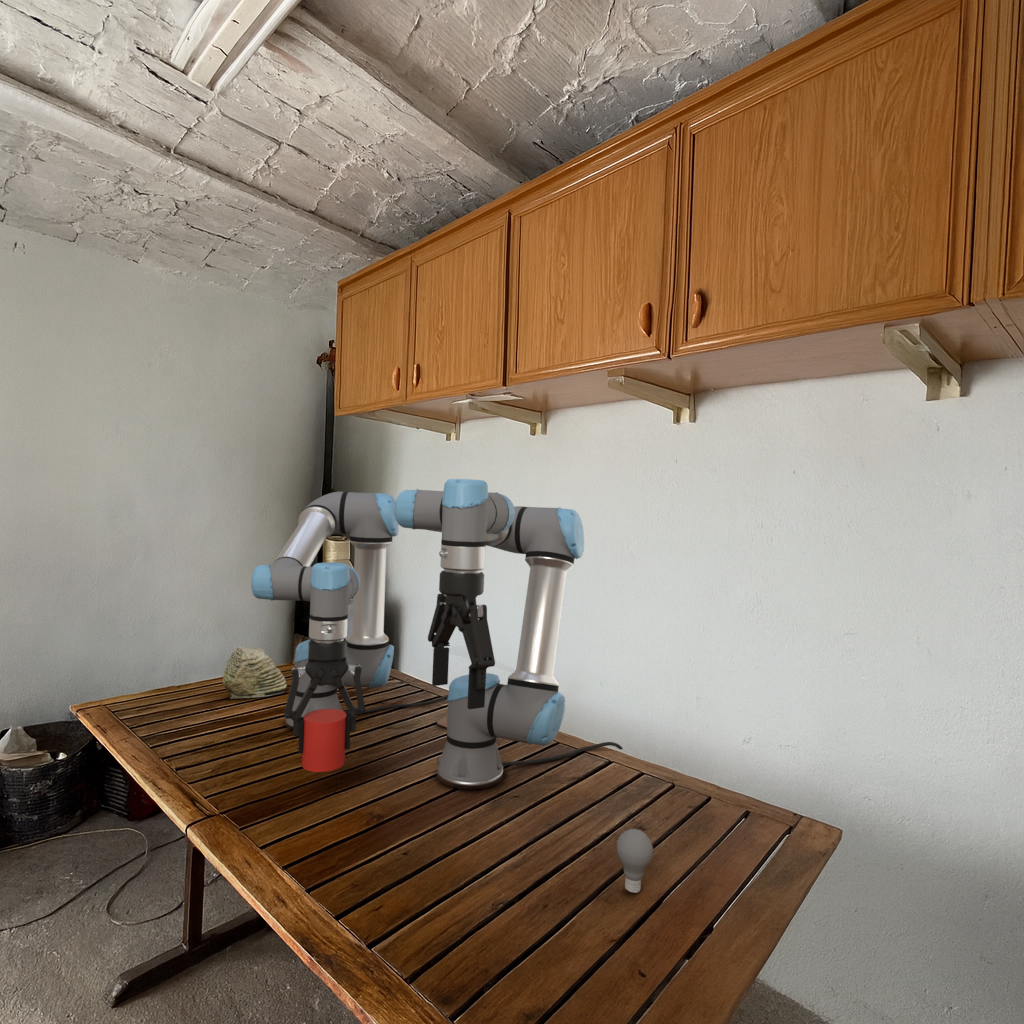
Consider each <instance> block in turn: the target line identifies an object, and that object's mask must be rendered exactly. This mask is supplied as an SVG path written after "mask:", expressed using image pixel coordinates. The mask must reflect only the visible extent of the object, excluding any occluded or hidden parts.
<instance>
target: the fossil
mask: <svg viewBox="0 0 1024 1024" xmlns="http://www.w3.org/2000/svg"><path fill="white" fill-rule="evenodd" d="M222 676H223V677H222V685H223V687H224V688H225V690H226V691H228V693H229V698H230V699H250V698H264V697H271V696H275V695H281V694H284V693H285V691H286V689H287V687H288V686H287V680H286V678H285V676H284V674H283V673H282V672H281V669H279V668H278V667H277V665H276V663H275V662H274V660H273V659H272V658H271V657H270V656H269V655H268V654H267V653H266V652H265V650H264V649H263V648H260V647H258V648H251V647H247V646H246V647H245V646H238V647H237V648H236V649H235V650H233V651H232V653H231V656H230V657H229V659H228V660H227V663H226V666H225V668H224V671H223V675H222Z"/></svg>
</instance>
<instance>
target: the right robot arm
mask: <svg viewBox="0 0 1024 1024" xmlns="http://www.w3.org/2000/svg"><path fill="white" fill-rule="evenodd" d="M394 512H395V518H396V521H397V522H398V526H400V527H401V528H405V529H411V530H422V531H423V530H426V531H431V532H436V533H437V532H438V533H441V541H440V543H441V544H440V550H439V552H438V555H439V557H440V568H441V569H443V570H441V571H440V572H439V583H438V591H439V593H438V594H437V597H436V605H435V610H434V613H433V617H432V621H431V624H430V628H429V631H428V635H427V641H428V642H429V643H431V646H432V648H433V652H432V653H433V654H432V655H433V656H432V676H431V680H432V681H431V685H432V686H433V687H436V686H437V687H438V686H445V685H446V686H447V685H448V684H449V686H448V694H447V695H448V698H446V700H447V710H446V711H447V713H446V714H447V715H446V716H447V727H446V742H445V745H444V747H443V750H442V753H441V756H440V755H438V756H437V760H436V766H437V768H436V778H437V780H438V781H439V782H440V783H441V784H442V785H445V786H447V787H449V788H452V789H456V790H463V791H478V790H479V791H480V790H486V789H489V788H492V787H494V786H496V785H498V784H499V783H501V782H502V780H503V778H504V767H507V766H508V767H509V766H522V765H523V766H527V765H535V764H542V763H547V762H552V761H557V760H561V759H565V758H568V757H572V756H574V755H576V754H580V753H582V752H585V751H591V750H595V749H599V748H603V747H609V746H611V747H615V748H616V749H618V750H624V749H623V747H622V746H621V744H619V743H618V742H613V741H605V742H601V743H597V744H593V745H592V744H591V745H588V746H583V747H580V748H577V749H574V750H572V751H569V752H566V753H562V754H558V755H554V756H548V757H543V758H536V759H530V760H529V759H528V760H514V761H513V760H511V761H502V759H501V756H500V752H499V748H498V743H497V741H498V740H497V739H498V738H499V739H504V740H508V741H513V742H519V743H524V744H527V745H529V746H530V745H535V746H542V747H545V746H548V745H550V744H551V743H552V742H554V740H555V739H556V738H557V736H558V733H559V731H560V728H561V725H562V723H563V719H564V716H565V715H564V714H565V709H566V704H565V703H566V698H565V695H564V694H563V693H562V692H560V691H559V687H560V684H559V682H558V681H557V679H556V677H555V676H554V672H555V663H556V656H557V648H558V641H559V632H560V623H561V616H562V610H563V609H562V607H563V603H564V602H563V601H564V593H565V585H566V577H567V573H568V572H569V571H570V570H571V569H573V568H574V565H575V560H578V559H581V558H582V557H583V554H584V550H585V532H584V526H583V521H582V518H581V516H580V514H579V512H577V511H576V510H575V509H570V508H562V507H541V506H540V507H539V506H524V505H523V506H521V505H519V506H514V504H513V502H512V500H511V499H510V498H509V497H508V496H507V495H505V494H502V493H500V492H497V491H496V492H493V491H492V492H489V485H488V483H487V481H485V480H482V479H471V478H470V479H468V478H449V479H447V480H446V481H445V482H444V485H443V490H430V489H429V490H428V489H419V488H416V489H405V490H402V491H401V492H400V493H399V494H398V495H397V496H396V499H395V509H394ZM487 547H491V548H494V549H498V550H501V551H505V552H508V553H511V554H519V555H525V557H524V561H525V563H526V564H527V565H528V567H529V574H528V581H527V588H526V589H527V590H526V596H525V602H524V603H525V604H524V611H523V617H522V625H521V631H520V639H519V646H518V652H517V653H518V654H517V659H516V668H515V671H513V673H510V675H509V676H508V677H507V684H503V683H501V679H500V677H499V675H497V674H495V673H489V672H487V669H488V668H492V667H495V665H496V660H495V654H494V648H493V643H492V638H491V634H490V633H491V631H490V628H489V623H488V607H487V605H486V604H477V597H478V596H482V595H483V594H484V590H485V574H484V573H483V572H482V571H483V570H485V568H486V548H487ZM456 628H457V629H458V631H459V632H461V633H462V636H463V640H464V643H465V646H466V650H467V653H468V656H469V660H470V663H471V664H470V665H469V666H468V667H467V668H468V674H463V675H461V676H458V677H456V678H454V679H453V680H452V681H451V682H450V683H449V682H448V681H449V662H450V660H449V659H450V647H451V645H450V640H451V637H452V636H453V634H454V631H455V629H456ZM439 756H440V758H439Z"/></svg>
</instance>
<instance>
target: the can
mask: <svg viewBox="0 0 1024 1024" xmlns="http://www.w3.org/2000/svg"><path fill="white" fill-rule="evenodd" d="M344 711H345V710H342V711H341V710H337V709H320V710H315V711H311V712H309V713H307V714H305V715H304V724H303V751H302V754H301V767H302V768H303V769H304V770H305V771H309V772H313V773H327V772H332V771H336V770H338V769H340V768H341V767H343V766H344V765H345V763H346V749H345V743H346V717H347V715H346V713H345V712H344Z"/></svg>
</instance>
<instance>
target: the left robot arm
mask: <svg viewBox="0 0 1024 1024" xmlns="http://www.w3.org/2000/svg"><path fill="white" fill-rule="evenodd" d="M395 502H396V499H395V498H394V496H393V495H391V494H388V493H381V492H355V491H354V492H352V491H333V492H329V493H327V494H323V495H322V496H320V497H318V498H316V499H314V500H313V501H311V502H309V503H308V504H307V506H305V507H304V509H302V511H301V513H300V514H299V516H298V520H297V524H298V525H297V526H296V527H295V529H294V531H293V532H292V534H291V535H290V537H289V538H288V540H287V541H286V543H285V544H284V546H283V547H282V549H281V551H280V552H279V554H278V555H277V557H276V558H275V560H274V561H273V562H272V564H269V563H266V564H259V565H257V566H256V567H254V570H253V571H252V575H251V581H250V587H251V592H252V595H253V597H254V598H255V599H259V600H269V601H271V602H272V601H295V602H296V601H301V602H309V603H310V604H309V619H308V620H309V623H308V625H309V626H308V638H309V639H307V640H304V641H302V642H300V643H298V644H297V645H296V648H295V655H294V660H293V662H294V666H293V667H291V678H292V680H291V684H290V687H289V692H288V696H287V699H286V702H285V703H286V704H285V707H284V714H283V715H284V716H283V717H284V718H285V726H286V728H287V729H289V730H291V731H292V734H293V737H298V747H297V748H298V749H297V752H298V754H299V755H300V754H301V755H302V751H303V724H304V715H305V714H307V713H309V712H311V711H315V710H320V709H337V710H341V711H344V712H345V713H346V715H347V717H346V743H345V751H348V750H350V749H351V747H350V743H351V733H354V732H355V731H356V727H357V716H358V715H361V714H367V713H368V714H369V713H372V712H377V711H381V710H385V709H386V710H387V709H394V708H395V709H396V708H397V709H398V708H411V707H416V706H417V707H418V706H423V705H428V704H433V703H436V702H439V701H442V700H445V699H447V698H448V694H446V695H444V696H443V695H442V696H440V697H438V698H434V699H430V700H426V701H420V702H414V703H413V702H412V703H405V704H390V705H383V706H380V707H374V708H369V709H366V705H365V698H364V694H363V693H364V692H363V688H368V689H372V688H383V687H385V685H387V684H388V681H389V678H390V674H391V670H392V665H393V660H394V654H395V652H394V651H395V645H393V644H390V638H389V636H388V635H387V634H385V632H384V631H385V602H386V601H385V599H386V575H387V574H386V572H387V571H386V570H387V549H388V547H389V546H390V545H392V543H393V538H395V537H397V536H398V535H399V524H398V522H397V521H396V518H395V512H394V509H395ZM335 534H336V535H337V534H339V535H340V534H341V535H348V536H349V543H350V544H351V545H352V546H353V547H354V561H353V562H354V563H353V564H354V565H353V567H351V566H349V565H348V564H347V563H344V562H335V561H334V562H333V561H331V562H329V561H327V562H317V563H315V564H314V565H312V564H313V562H314V560H315V558H316V556H317V555H318V553H319V551H320V549H321V547H322V546H323V544H324V542H325V540H327V539H328V538H330V537H331V536H332V535H335ZM311 565H312V566H311ZM351 599H352V623H351V624H352V625H351V626H352V627H351V633H350V634H349V635H348V625H349V624H348V620H349V601H350V600H351ZM347 688H354V689H355V696H356V701H357V706H355V705H354V704H353V701H352V699H351V697H350V695H349V692H348V691H347ZM338 692H339V694H340V696H341V698H342V701H343V702H344V704H345V706H346V709H347V710H343V709H342V706H341V702H340V699H339V695H338Z"/></svg>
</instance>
